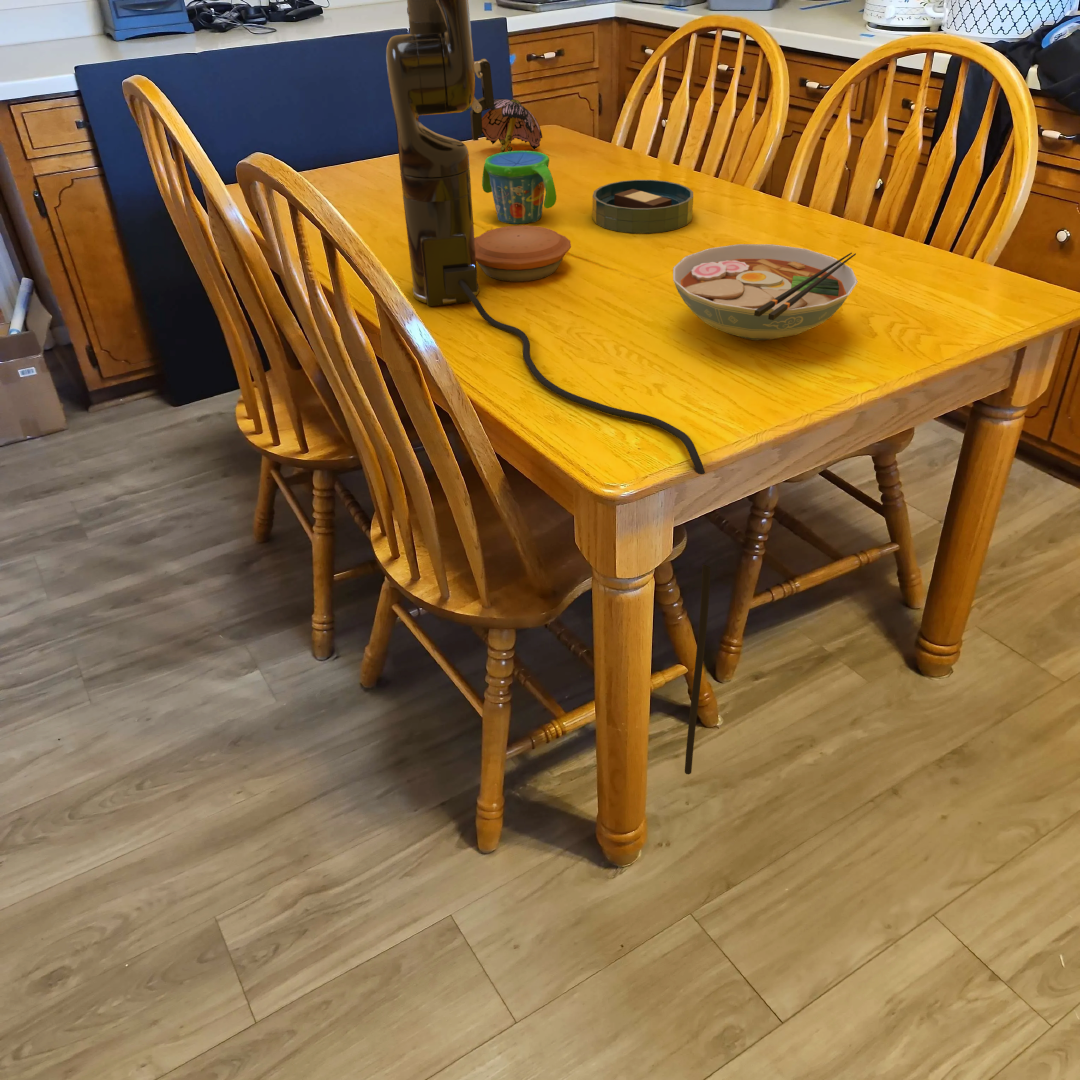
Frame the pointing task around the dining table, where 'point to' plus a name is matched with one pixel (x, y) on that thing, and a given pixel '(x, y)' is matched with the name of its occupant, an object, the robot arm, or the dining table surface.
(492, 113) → the decorative flower
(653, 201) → the oat bar
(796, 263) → the ramen bowl
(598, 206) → the snack bowl
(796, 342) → the dining table surface
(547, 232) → the pie
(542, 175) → the snack cup
